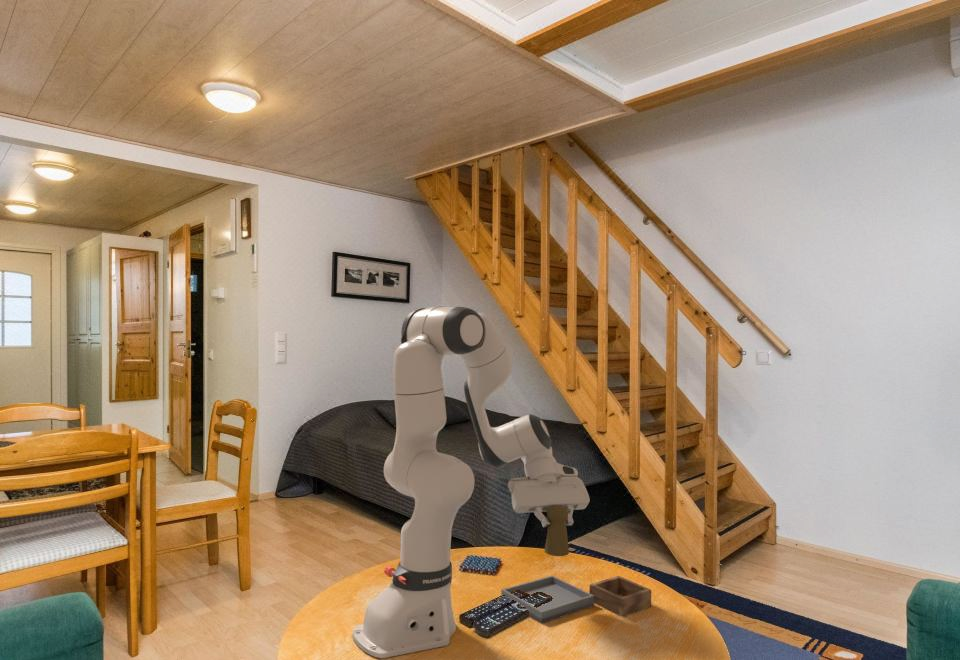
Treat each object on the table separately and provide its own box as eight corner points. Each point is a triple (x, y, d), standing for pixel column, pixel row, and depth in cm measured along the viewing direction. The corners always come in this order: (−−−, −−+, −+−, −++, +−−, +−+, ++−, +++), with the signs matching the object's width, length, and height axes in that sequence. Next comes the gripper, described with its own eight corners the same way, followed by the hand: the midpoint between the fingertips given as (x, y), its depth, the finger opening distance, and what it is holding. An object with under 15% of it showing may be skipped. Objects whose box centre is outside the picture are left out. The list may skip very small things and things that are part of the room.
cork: (570, 556, 141) (571, 510, 142) (545, 555, 142) (546, 509, 142) (567, 548, 147) (568, 504, 148) (543, 547, 148) (544, 503, 148)
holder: (622, 617, 137) (622, 599, 137) (589, 600, 146) (589, 584, 146) (651, 606, 143) (651, 589, 143) (618, 591, 152) (618, 575, 152)
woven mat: (495, 577, 160) (495, 570, 160) (458, 573, 163) (458, 566, 163) (503, 564, 170) (503, 557, 171) (467, 560, 173) (468, 553, 173)
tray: (541, 623, 133) (541, 612, 133) (501, 599, 145) (501, 589, 145) (593, 605, 143) (594, 595, 143) (552, 585, 155) (552, 575, 155)
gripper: (509, 471, 149) (522, 521, 139) (582, 468, 155) (599, 516, 145) (503, 484, 153) (515, 534, 143) (574, 481, 159) (590, 529, 149)
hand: (558, 525), depth 144 cm, fingers closed on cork, 5 cm apart
